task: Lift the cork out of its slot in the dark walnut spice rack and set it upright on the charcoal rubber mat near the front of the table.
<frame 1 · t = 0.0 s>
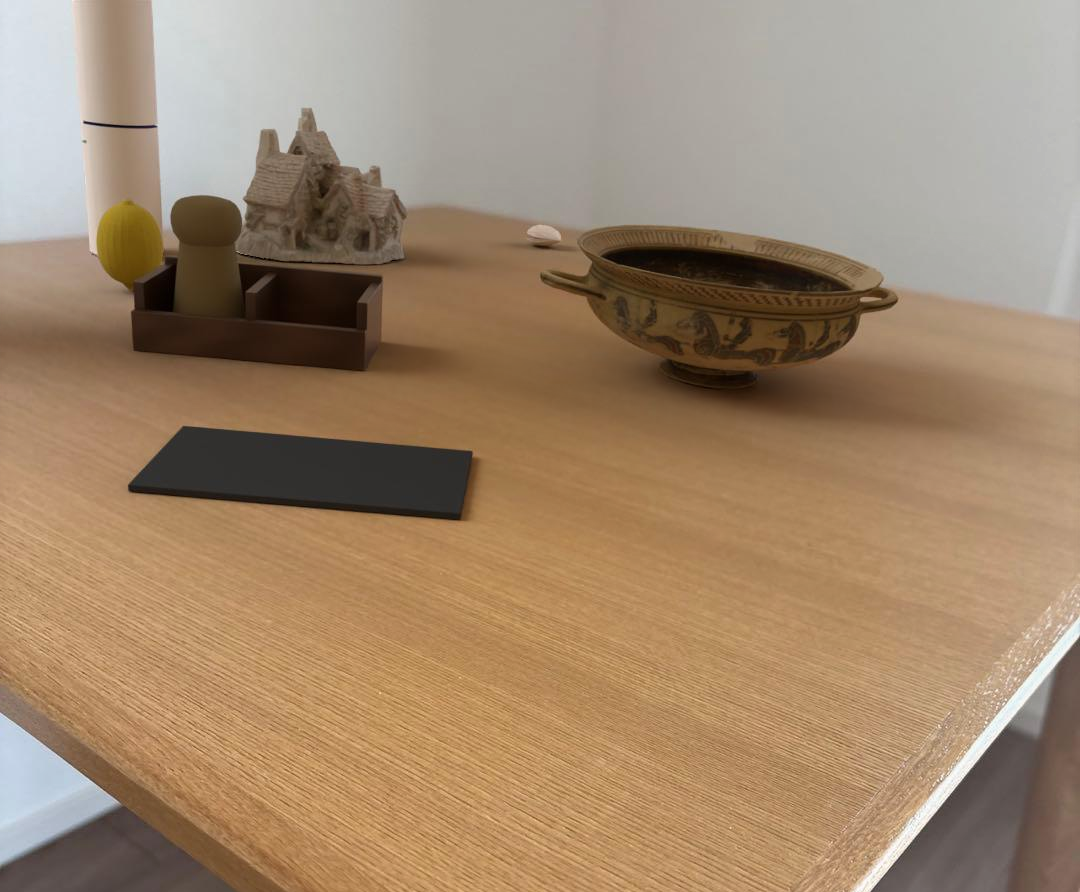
spice rack: (263, 345, 89), on the table
ceramic cottage: (319, 255, 125), on the table
cylindrical container: (127, 254, 116), on the table
lemon: (133, 293, 102), on the table
ceramic bowl: (709, 377, 93), on the table
cork: (210, 343, 89), resting in spice rack
clam shell: (545, 248, 141), on the table
mat: (312, 472, 66), on the table
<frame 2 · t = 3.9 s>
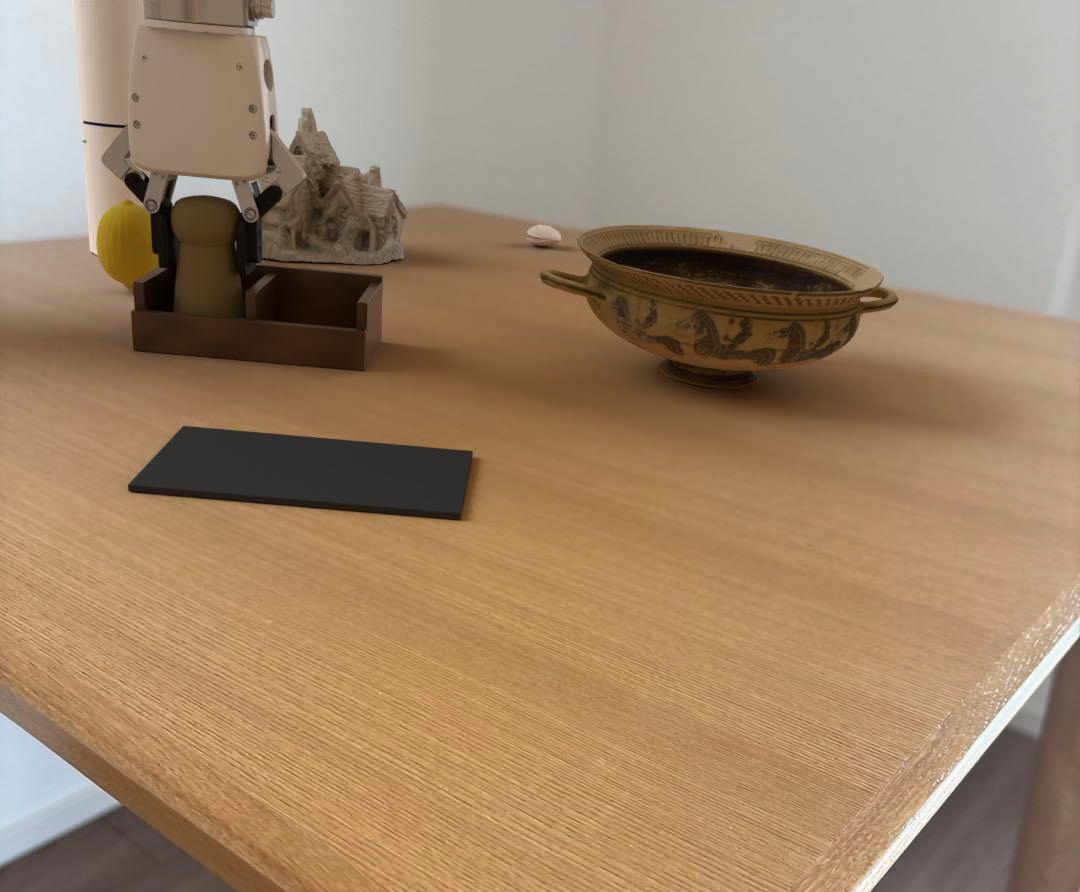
hand: (208, 266, 87), 6 cm above the table, tool pointing down, fingers closed on cork, 5 cm apart
cork: (210, 343, 89), resting in spice rack, touching gripper
everything else where it was.
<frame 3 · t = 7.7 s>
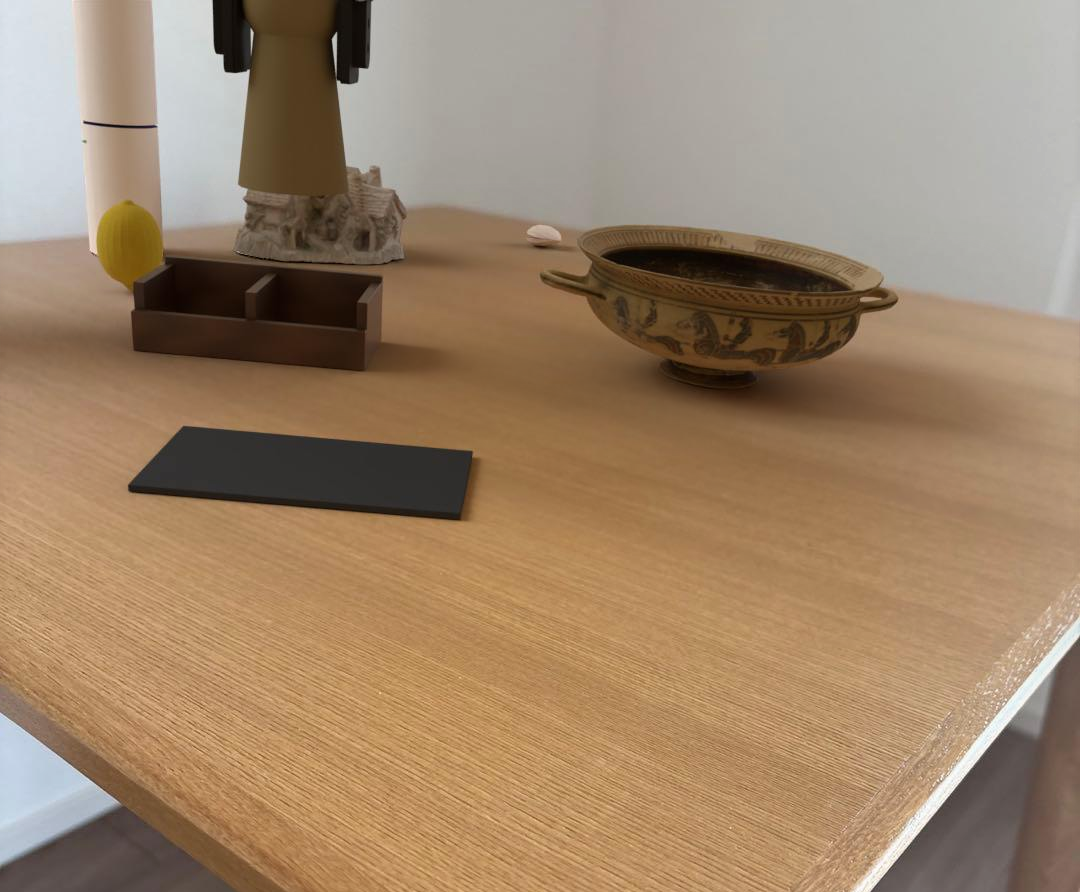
hand: (292, 73, 60), 21 cm above the table, tool pointing down, fingers closed on cork, 5 cm apart
cork: (294, 190, 63), point 15 cm above the table, touching gripper
everything else where it was.
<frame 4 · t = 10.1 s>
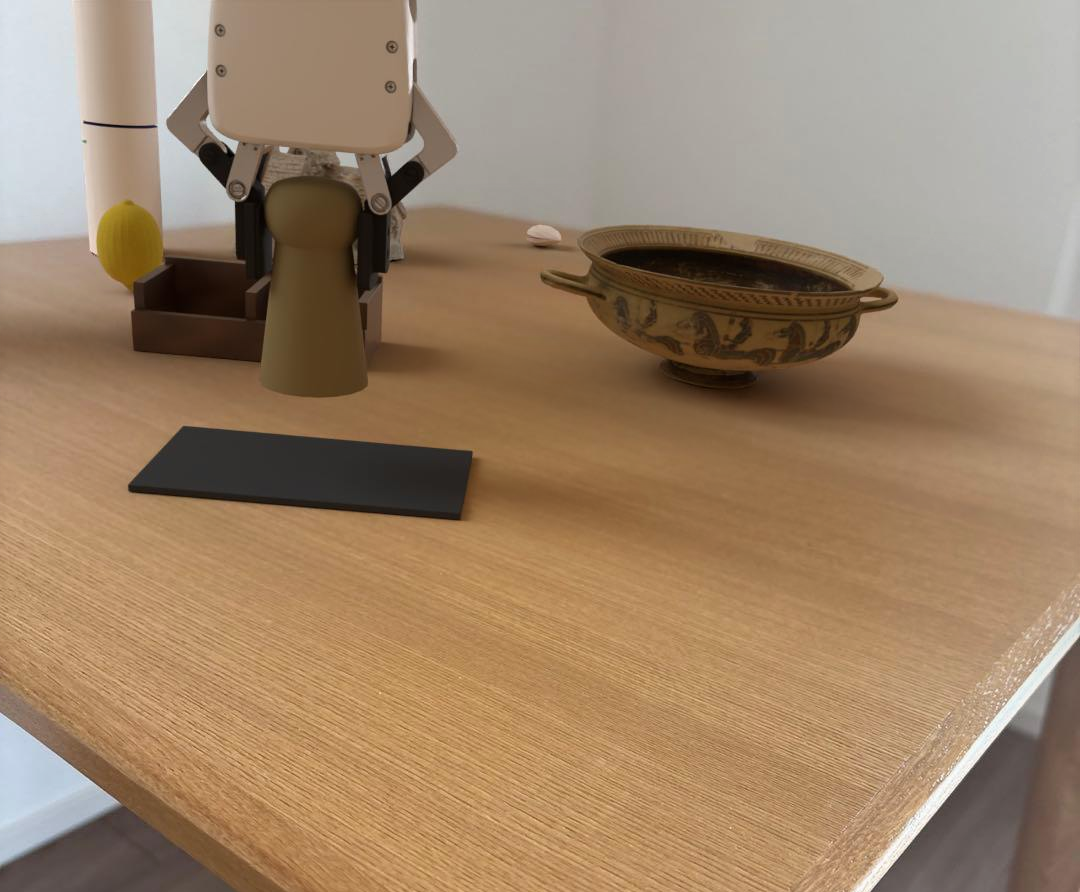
hand: (313, 277, 61), 11 cm above the table, tool pointing down, fingers closed on cork, 5 cm apart
cork: (314, 384, 64), point 5 cm above the table, touching gripper
everything else where it was.
when the fingers open (6 cm above the table, at t = 11.7 s): cork stays where it is, resting on mat.
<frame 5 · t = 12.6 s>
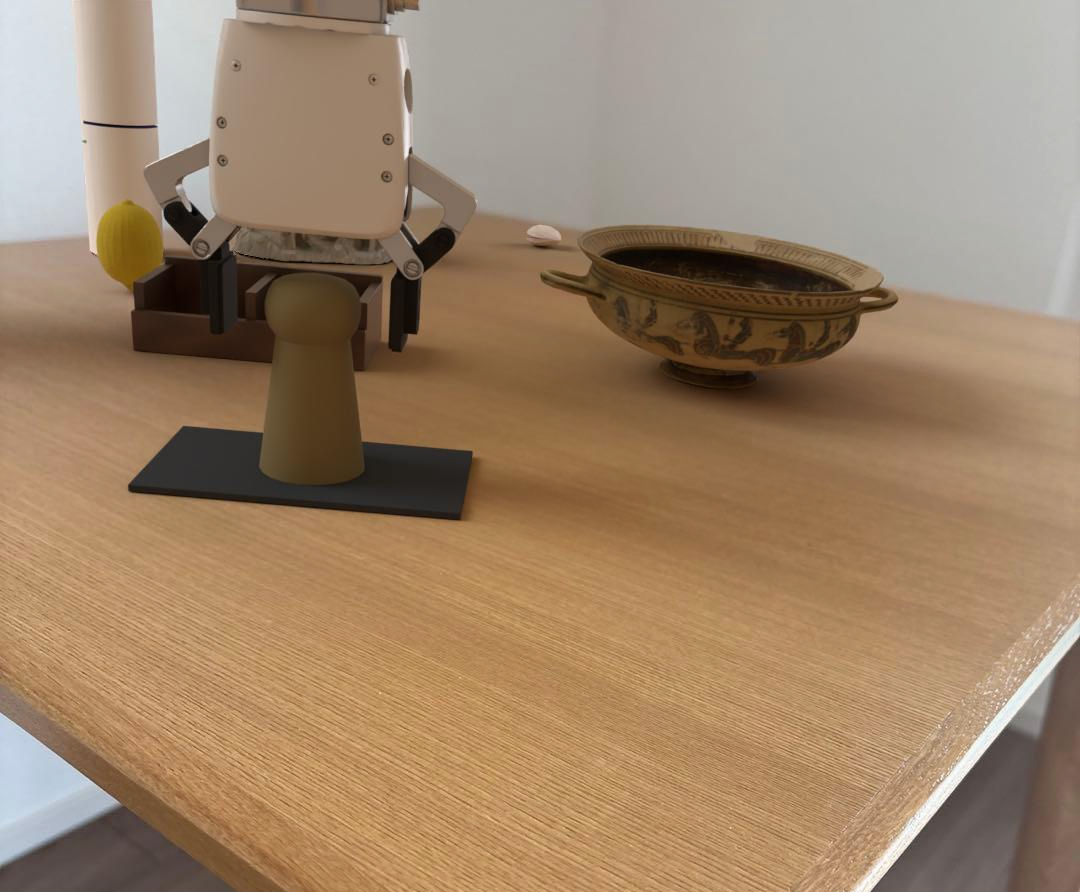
hand: (311, 337, 63), 8 cm above the table, tool pointing down, fingers open, 9 cm apart
cork: (312, 468, 66), resting on mat
everything else where it was.
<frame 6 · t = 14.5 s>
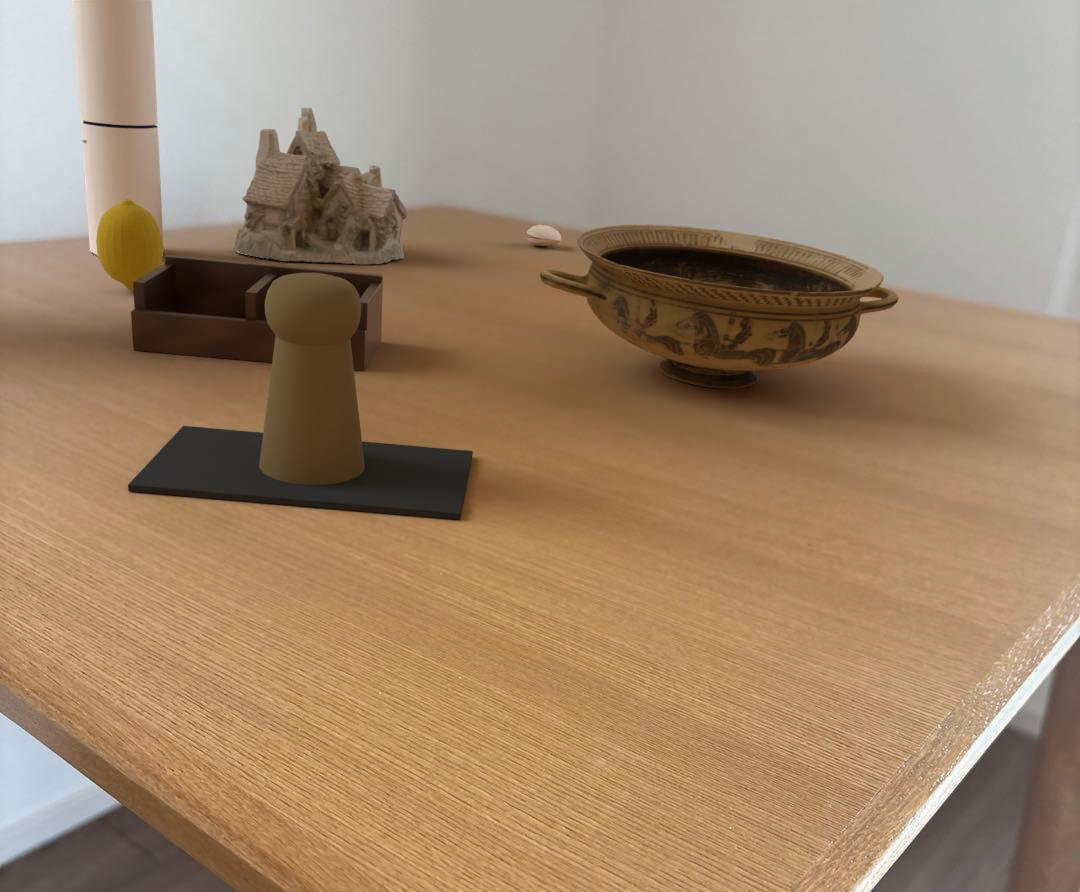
nothing on the table moved.
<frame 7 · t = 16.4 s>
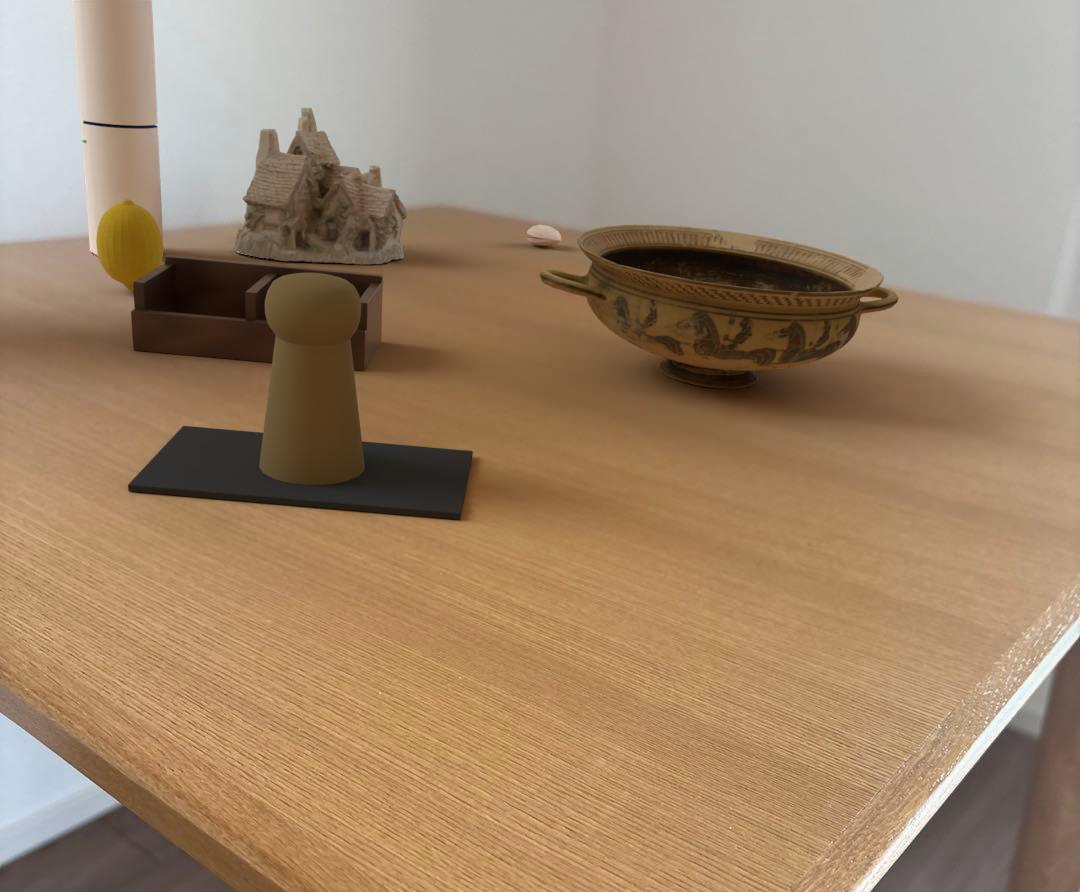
nothing on the table moved.
at the end: cork inside the target area on the mat (0.1 cm from its centre), point 0.2 cm above the mat's base; cork tilted 0°; the gripper is holding nothing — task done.
